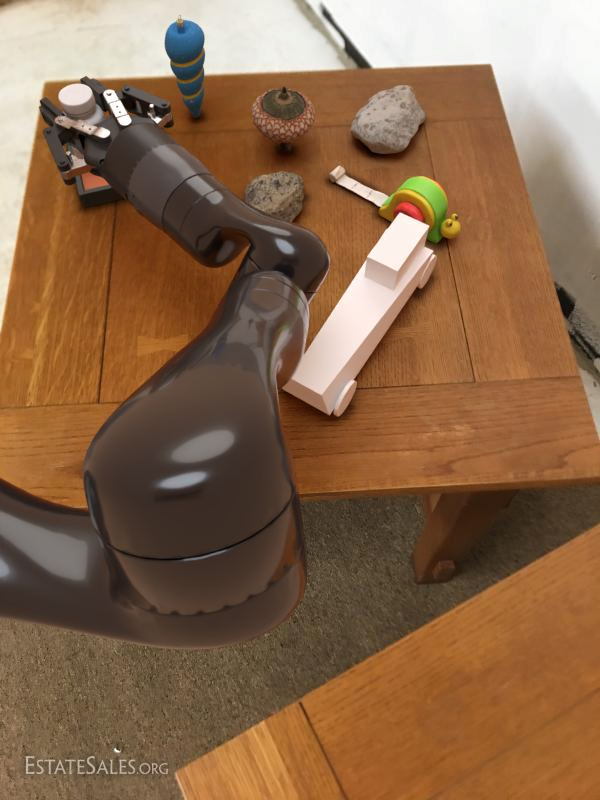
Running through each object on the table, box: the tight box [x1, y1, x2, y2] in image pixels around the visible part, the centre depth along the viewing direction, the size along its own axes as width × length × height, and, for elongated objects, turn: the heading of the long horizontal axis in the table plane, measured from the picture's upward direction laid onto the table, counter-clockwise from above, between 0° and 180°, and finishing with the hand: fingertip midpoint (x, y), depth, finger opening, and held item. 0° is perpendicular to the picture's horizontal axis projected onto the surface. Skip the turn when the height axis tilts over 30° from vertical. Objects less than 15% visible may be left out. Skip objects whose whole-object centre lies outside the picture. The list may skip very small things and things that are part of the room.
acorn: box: [251, 86, 316, 152], centre depth 85 cm, size 8×8×10 cm
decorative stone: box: [350, 84, 427, 155], centre depth 90 cm, size 12×11×5 cm
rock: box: [244, 170, 305, 222], centre depth 82 cm, size 7×8×4 cm
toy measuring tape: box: [328, 165, 462, 245], centre depth 82 cm, size 6×20×7 cm, turn 51°
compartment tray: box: [66, 115, 139, 209], centre depth 87 cm, size 12×12×2 cm
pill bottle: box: [57, 83, 106, 159], centre depth 69 cm, size 4×4×8 cm
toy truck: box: [281, 213, 438, 417], centre depth 72 cm, size 25×7×9 cm, turn 148°
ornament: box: [164, 14, 206, 119], centre depth 86 cm, size 5×5×15 cm
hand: (65, 96), depth 68 cm, fingers closed on pill bottle, 4 cm apart
